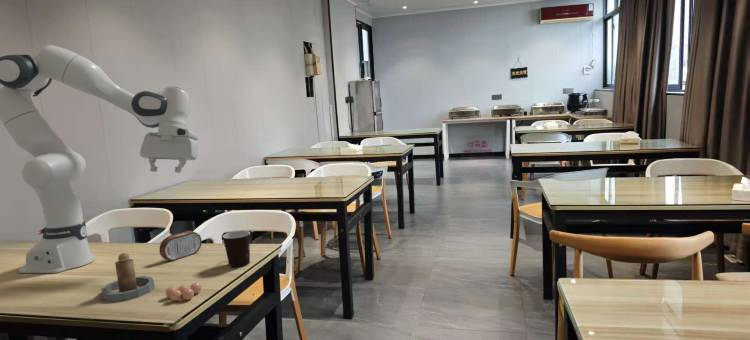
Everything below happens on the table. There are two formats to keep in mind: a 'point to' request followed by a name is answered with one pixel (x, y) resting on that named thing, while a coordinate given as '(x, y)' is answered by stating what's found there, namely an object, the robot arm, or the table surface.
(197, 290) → the bead pile
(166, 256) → the tin
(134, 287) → the pepper mill
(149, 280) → the ring
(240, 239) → the coffee mug
